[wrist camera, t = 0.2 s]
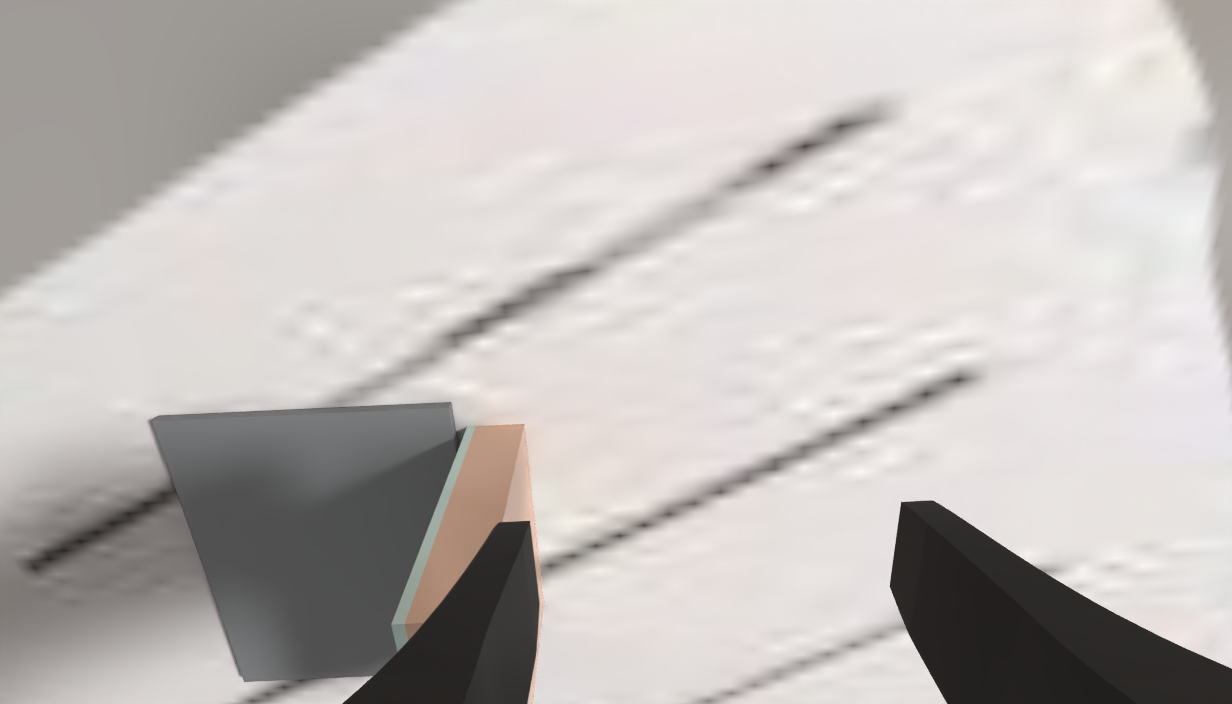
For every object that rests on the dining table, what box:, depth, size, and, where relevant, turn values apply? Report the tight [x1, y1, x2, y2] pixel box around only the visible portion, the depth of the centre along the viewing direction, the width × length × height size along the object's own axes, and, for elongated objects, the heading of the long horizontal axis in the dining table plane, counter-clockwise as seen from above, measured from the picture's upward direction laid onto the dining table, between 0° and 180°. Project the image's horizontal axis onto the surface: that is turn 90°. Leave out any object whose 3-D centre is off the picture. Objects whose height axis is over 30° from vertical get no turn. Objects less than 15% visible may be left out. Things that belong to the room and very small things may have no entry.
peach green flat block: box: [391, 424, 544, 704], centre depth 21 cm, size 8×2×9 cm, turn 3°
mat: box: [152, 402, 459, 682], centre depth 25 cm, size 12×10×1 cm
